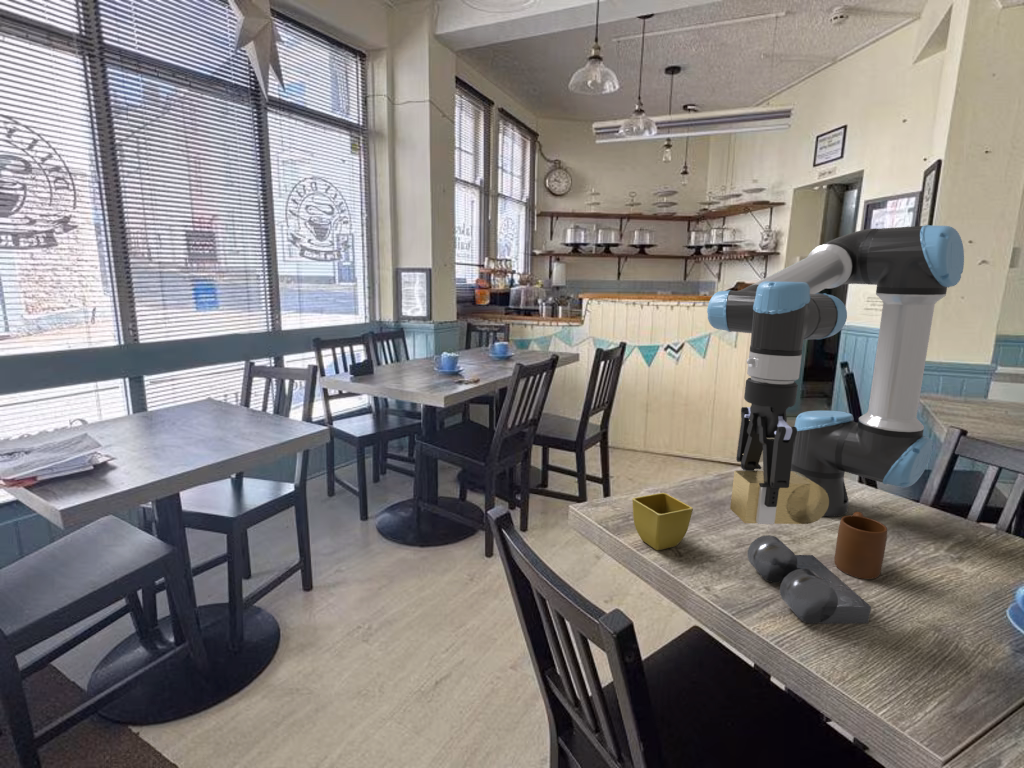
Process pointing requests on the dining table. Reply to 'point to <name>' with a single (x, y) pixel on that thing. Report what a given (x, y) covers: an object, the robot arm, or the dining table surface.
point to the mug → (860, 546)
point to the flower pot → (661, 520)
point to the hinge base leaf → (807, 584)
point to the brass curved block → (779, 499)
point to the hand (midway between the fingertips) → (755, 514)
